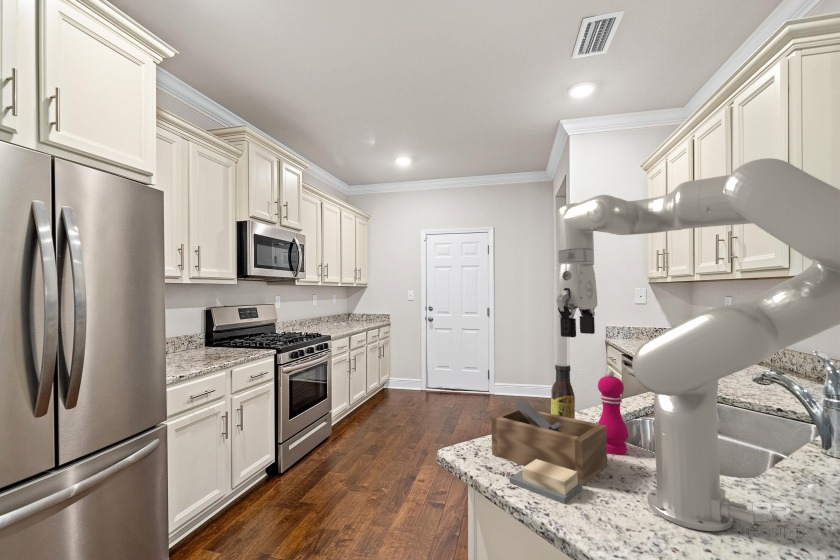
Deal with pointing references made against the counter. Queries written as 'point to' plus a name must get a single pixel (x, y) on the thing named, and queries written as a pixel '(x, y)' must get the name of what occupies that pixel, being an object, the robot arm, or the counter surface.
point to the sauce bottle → (563, 393)
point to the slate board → (544, 489)
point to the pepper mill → (613, 413)
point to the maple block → (550, 476)
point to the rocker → (535, 416)
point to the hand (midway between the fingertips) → (578, 335)
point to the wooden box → (551, 442)
